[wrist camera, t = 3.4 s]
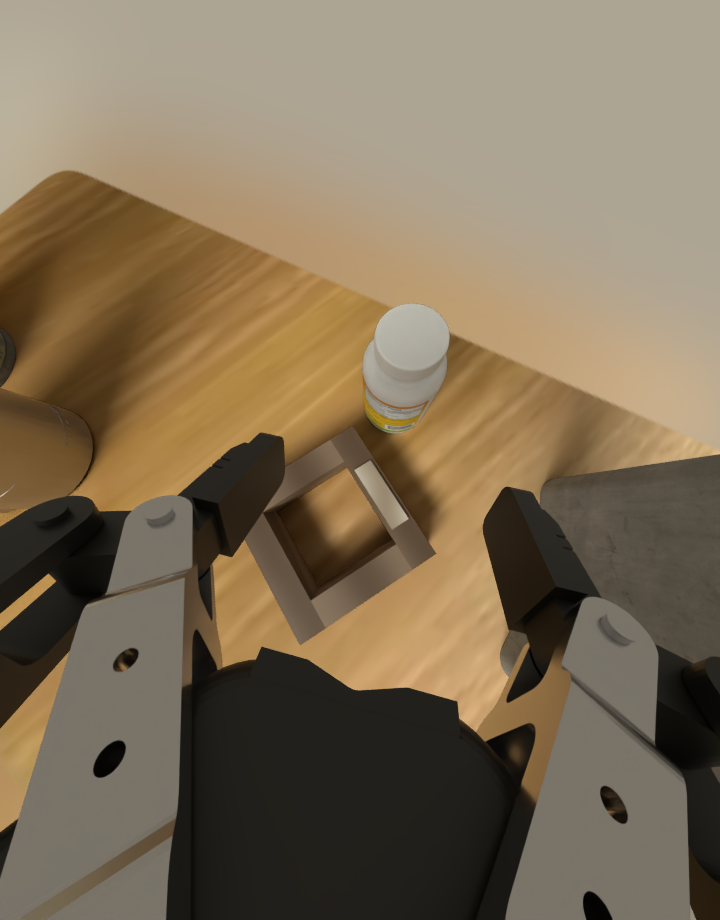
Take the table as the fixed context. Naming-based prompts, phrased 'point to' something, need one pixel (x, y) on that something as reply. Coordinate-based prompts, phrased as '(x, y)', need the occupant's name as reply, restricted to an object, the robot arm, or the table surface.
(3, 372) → the olive fabric bag
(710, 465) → the hip flask
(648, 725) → the robot arm
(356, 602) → the socket block
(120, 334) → the table surface
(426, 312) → the supplement bottle
